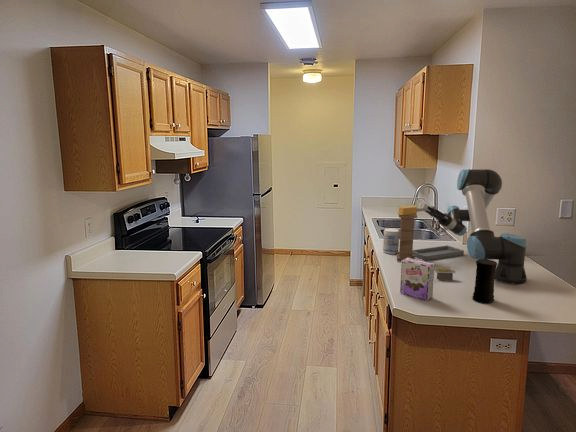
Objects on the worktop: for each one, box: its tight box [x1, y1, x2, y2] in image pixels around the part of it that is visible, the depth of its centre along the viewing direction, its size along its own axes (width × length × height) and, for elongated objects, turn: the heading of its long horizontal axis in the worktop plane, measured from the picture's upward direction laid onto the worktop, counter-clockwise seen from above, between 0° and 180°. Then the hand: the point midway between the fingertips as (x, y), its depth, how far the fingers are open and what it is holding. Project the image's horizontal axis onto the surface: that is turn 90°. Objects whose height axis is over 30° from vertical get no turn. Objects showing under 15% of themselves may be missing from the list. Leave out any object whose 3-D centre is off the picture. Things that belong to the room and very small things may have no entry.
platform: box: [434, 266, 456, 281], centre depth 214 cm, size 12×18×7 cm, turn 86°
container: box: [472, 259, 498, 305], centre depth 185 cm, size 9×9×18 cm
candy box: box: [399, 258, 436, 301], centre depth 191 cm, size 14×6×16 cm, turn 45°
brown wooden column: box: [395, 211, 418, 262], centre depth 246 cm, size 10×10×28 cm
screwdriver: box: [397, 205, 436, 215], centre depth 246 cm, size 24×4×4 cm, turn 113°
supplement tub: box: [382, 228, 400, 255], centre depth 264 cm, size 10×10×15 cm
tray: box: [412, 244, 465, 262], centre depth 258 cm, size 30×14×3 cm, turn 113°
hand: (421, 204), depth 247 cm, fingers closed on screwdriver, 2 cm apart
